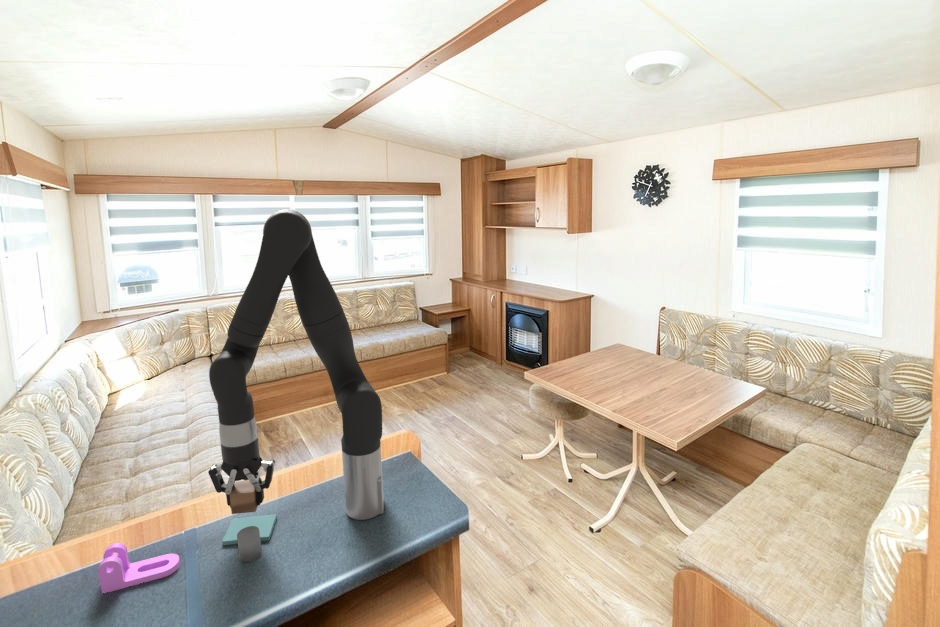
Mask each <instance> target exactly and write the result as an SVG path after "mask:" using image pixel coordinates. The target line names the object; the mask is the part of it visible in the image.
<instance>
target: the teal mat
mask: <svg viewBox="0 0 940 627" xmlns="http://www.w3.org/2000/svg"><path fill="white" fill-rule="evenodd" d="M277 518H278V515H277V513H276V514H265V515H264V514H263V515H254V516H247V517H236V518H235V517H234V518H232V519H231V522H230V524H229V525H228V527H227V530H226V532H225V534H224V537H223V539H222V540H221V544H222V546H229V545H238V540H237V534H238V532H239V531H240V530H242V529H243V528H246V527H249V526H256V527H258V528H259V532H260V541H261V542H264V541H270V540H271V536H272V533H273V531H274V528H275V525H276V522H277Z"/></svg>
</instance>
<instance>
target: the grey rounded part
mask: <svg viewBox="0 0 940 627" xmlns="http://www.w3.org/2000/svg"><path fill="white" fill-rule="evenodd" d="M237 540H238V544H237V547H238V554H239V560H240V561H241V562H244V563H250V562H253V561H255V560H257V559H258V558H259V557H260V556H261V555H262V553H263V550H262V541H260V532H259V528H258V527H256V526H249V527H246V528H243V529H242V530H240V531H239V532H238V534H237Z"/></svg>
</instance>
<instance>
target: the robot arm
mask: <svg viewBox="0 0 940 627" xmlns="http://www.w3.org/2000/svg"><path fill="white" fill-rule="evenodd" d="M260 244H261V245H260V249H259V253H258V257H257V262H256V264H255V268H254V270H253V271H252V272H253V273H252V275H251V277H250V280H249V282H248V284H247V286H246V288H245V290H244V291H243V294H242V296H241V298H240V300H239V301H238V304H237V306H236V308H235V311H234V314H233V316H232V319H231V321H230V324H229V326H228V327H227V328H228V330H227V338H226V341H225V343H224V346H223V348H222V350H221V352H220V354H219V355H218V356H217V357H216V358H215V359H214V360H213V361H212V363H211V364H210V367H209V371H208V372H209V373H208V377H209V384H210V387H211V391H212V393H213V396H214V398H215V400H216V402H217V415H218V421H219V422H218V423H219V424H218V425H219V427H218V433H219V434H218V435H219V441H220V442H219V443H220V451H221V457H222V463H221V464H216V463H214V464H212V465H211V467H210V468H209V470H208V472H207V473H208V476H209V477H210V480H211V482H212V485H213V486H214V487H213V488H214V489H215V491H216V493H219V494H220V493H225V496H226V497H225V498H226V504H227V506H228V507H230V509H231V503H230V492H231V490H232V489H233V487H234V485H235V483H236V482H238V481H250V483H251V485H253V486H254V488H255V490H256V492H255V494H256V504H257V506H258V507H259V506H261V505H262V503H263V501H264V499H265V492H264V490H265V489H269V488H270V487H271V486H270V485H271V483H272V482H273V474H274V469H275V464H276V461H275V459H271V460H269V461H267V460H263V459H262V457H261V456H260V455H261V454H260V444H259V443H260V442H259V430H258V426H257V420H256V418H255V406H254V398H253V396H252V394H251V393H250V392H249V391H248V387H247V376H248V374H249V373H250V371H251V369H252V367H253V365H254V363H255V359H256V357H257V354H258V350H259V347H260V344H261V342H262V340H263V339H264V336H265V334H266V332H267V329H268V328H269V325H270V323H271V319H272V318H273V315H274V312H275V309H276V306H277V304H278V301H279V298H280V296H281V295H280V294H281V292H282V290H283V287H284V285H285V283H286V281H287V279H288V278H289V280H290V284H291V288H292V292H293V297H294V301H295V304H296V309H297V312H298V315H299V318H300V320H301V324H302V326H303V328H304V331H305V333H306V335H307V338H308V339H309V342H310V343H311V345H312V347H313V349H314V350H315V353H316V355H317V356H318V357H319V359H320V361H321V362H322V364H323V365H324V367H325V370H326V371H327V374H328V377H329V381H330V383H331V387H332V389H333V393H334V397H335V400H336V405H337V408H338V409H339V412H340V413H341V418H342V437H341V441H340V444H341V457H342V473H343V474H342V475H343V488H344V501H345V512H346V515H347V516H348V517H349V518H351V519H353V520H359V521H364V520H370V519H372V518H375V517H377V516H379V515H383V514H384V503H385V502H384V485H383V484H384V481H383V480H384V479H383V478H384V477H383V467H382V448H381V446H382V445H381V439H382V436H383V407H382V405H383V404H382V401H381V397H380V395H379V394H378V393H377V391H376V390H375V389H374V388H373V386H372V384H371V383H370V382H369V380H368V379H367V377H366V375H365V374H364V372H363V369H362V368H361V365H360V364H359V362H358V359H357V356H356V352H355V346H354V339H353V335H352V332H351V327H350V324H349V321H348V319H347V316H346V314H345V311H344V308H343V307H342V304H341V302H340V300H339V297H338V295H337V293H336V291H335V289H334V287H333V285H332V283H331V281H330V280H329V278H328V276H327V274H326V272H325V270H324V268H323V266H322V263H321V261H320V256H319V255H318V251H317V247H316V244H315V240H314V237H313V231H312V226H311V224H310V222H309V220H308V219H307V218H306V216H304V215H303V213H301V212H299V211H297V210H295V209H293V208H292V209H291V208H283V209H278V210H276V211H275V212H274V213H271V215H270V216H269V217H268V218H267V219H266V221H265V223H264V225H263V229H262V240H261V243H260ZM261 467H262V468H263V471H264V472H265V478H264V480H263V479H262V477H261V473H260V471H259V470H260V468H261ZM222 472H224V473H225V474H226V475H227V476H229V478H228V480H227V483H226V482H225V479H224V478H223V475H222Z"/></svg>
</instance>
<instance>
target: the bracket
mask: <svg viewBox="0 0 940 627" xmlns="http://www.w3.org/2000/svg"><path fill="white" fill-rule="evenodd" d="M180 566H181V559H180V556H179V555H178V554H177V553H166V554H162V555H158V556H154V557H151V558H146V559H143V560H139V561H135V562H130V558H129V552H128V548H127V545H126V544H124V543H123V542H122V543H121V542H116V543H112V544H109V545H108V546H107V547H106V549H105V551H104V553H103V558H102V561H101V562H100V563H99V565H98V569H97V575H98V580H99V584H100V589H101V594H102V595H103V593H104V594H107V592H108V593H110V592H114V591H118V590H121V589H126V588H129V586H130V587H132V586H137V585H140V583H141V584H143V582H144V583H147V582H148V583H149V582H151V581H155V580H158V579H161V578H166V577H169V576H170V575H172V574H173V573H175V572H176V571H177V570H178V569H179V568H180Z"/></svg>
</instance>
